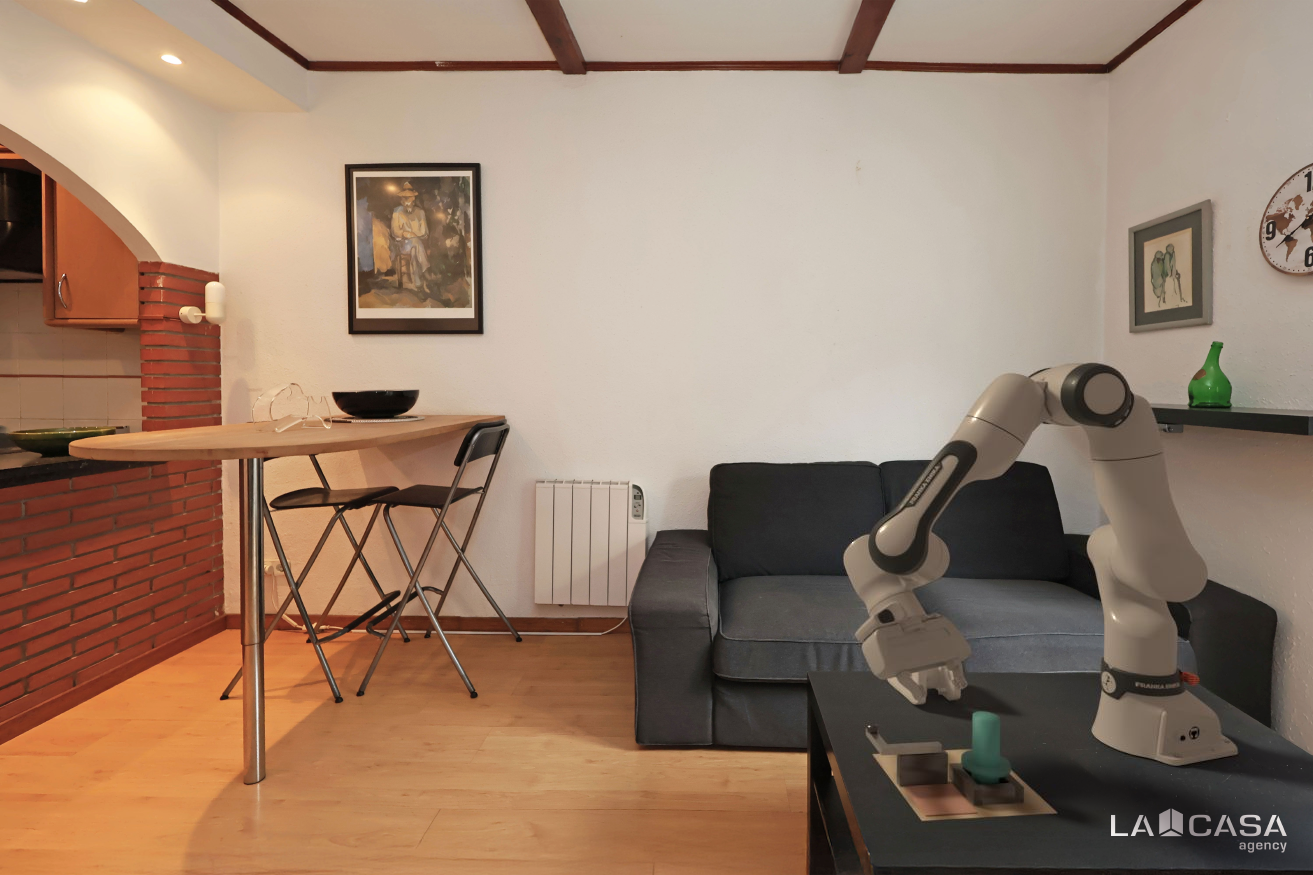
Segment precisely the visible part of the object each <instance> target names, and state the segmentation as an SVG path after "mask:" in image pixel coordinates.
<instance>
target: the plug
mask: <svg viewBox="0 0 1313 875" xmlns="http://www.w3.org/2000/svg"><path fill="white" fill-rule="evenodd" d="M971 723H972V724H971V725H972V730H971V731H972V732H971V734H972V736H971V737H972V738H971V749H972V750H970V751H966V752H964V753H963V754H962V755H961V764H962V766H963V767H964V768H965V769H967V770H968V771H970V772H972V779H973V780H974V781H975V782H976V783H977V784H978V785H981V784H999V778H1001V777H1005V776H1007V775H1009V774H1010V772H1011V770H1012V769H1011V768H1012V765H1011V762H1010V761H1009V760H1008V759H1007V758H1006V757H1004V756H1002V755H1001V750H1000V749H1001V746H1000V745H1001V718H1000V716H999V715H997V714H995V713H993V712H991V711H990V712H989V711H984V710H983V711H979V710H978V711H975V712H973V713H972V721H971Z"/></svg>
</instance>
